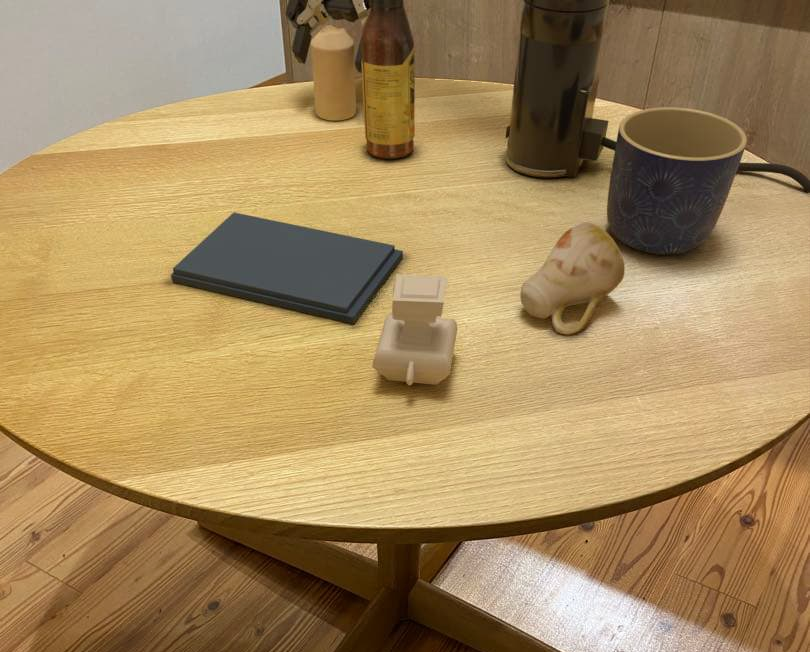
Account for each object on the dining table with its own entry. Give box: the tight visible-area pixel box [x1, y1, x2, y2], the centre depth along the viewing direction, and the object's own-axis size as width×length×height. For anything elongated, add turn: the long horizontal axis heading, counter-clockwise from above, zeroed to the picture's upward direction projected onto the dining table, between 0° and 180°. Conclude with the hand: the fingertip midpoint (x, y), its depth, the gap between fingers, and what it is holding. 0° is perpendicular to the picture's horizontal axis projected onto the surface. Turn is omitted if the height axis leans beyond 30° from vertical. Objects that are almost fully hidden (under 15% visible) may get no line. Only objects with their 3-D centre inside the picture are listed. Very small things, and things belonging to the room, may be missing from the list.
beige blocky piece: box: [372, 273, 458, 386], centre depth 68 cm, size 9×7×8 cm
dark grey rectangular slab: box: [170, 212, 404, 325], centre depth 81 cm, size 20×13×1 cm, turn 69°
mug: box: [519, 221, 626, 335], centre depth 76 cm, size 8×10×10 cm
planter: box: [606, 106, 748, 255], centre depth 82 cm, size 12×12×11 cm
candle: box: [310, 24, 357, 121], centre depth 104 cm, size 6×6×10 cm
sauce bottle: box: [360, 0, 416, 160], centre depth 93 cm, size 6×6×20 cm
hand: (329, 65), depth 102 cm, fingers open, 8 cm apart
